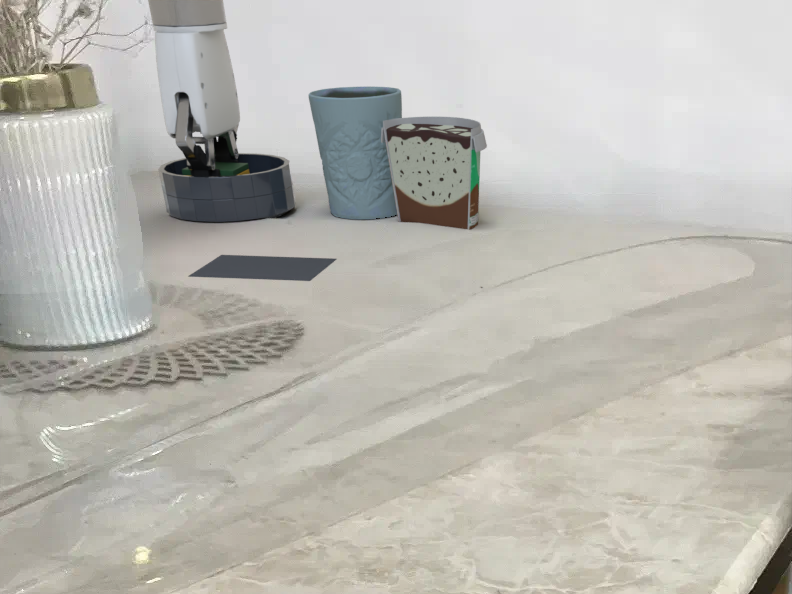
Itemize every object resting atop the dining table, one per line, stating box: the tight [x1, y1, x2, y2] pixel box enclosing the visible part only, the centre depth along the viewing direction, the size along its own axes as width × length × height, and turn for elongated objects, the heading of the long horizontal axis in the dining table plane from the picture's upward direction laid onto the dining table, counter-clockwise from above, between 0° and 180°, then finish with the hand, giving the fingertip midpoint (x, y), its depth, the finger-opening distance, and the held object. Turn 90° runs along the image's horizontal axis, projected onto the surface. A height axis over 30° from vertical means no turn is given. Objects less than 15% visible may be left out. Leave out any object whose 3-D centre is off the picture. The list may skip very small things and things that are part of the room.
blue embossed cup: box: [308, 86, 403, 220], centre depth 127 cm, size 10×10×12 cm
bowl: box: [158, 152, 296, 223], centre depth 128 cm, size 14×14×5 cm
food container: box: [381, 116, 488, 231], centre depth 122 cm, size 12×6×10 cm, turn 59°
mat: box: [187, 254, 338, 282], centre depth 109 cm, size 12×8×1 cm, turn 81°
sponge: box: [182, 162, 250, 176], centre depth 128 cm, size 6×4×4 cm
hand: (220, 201), depth 129 cm, fingers closed on sponge, 4 cm apart
